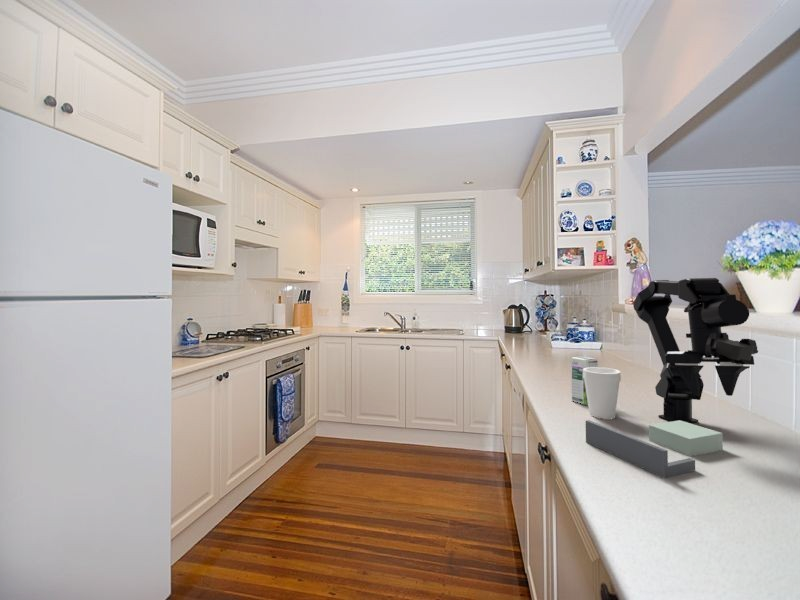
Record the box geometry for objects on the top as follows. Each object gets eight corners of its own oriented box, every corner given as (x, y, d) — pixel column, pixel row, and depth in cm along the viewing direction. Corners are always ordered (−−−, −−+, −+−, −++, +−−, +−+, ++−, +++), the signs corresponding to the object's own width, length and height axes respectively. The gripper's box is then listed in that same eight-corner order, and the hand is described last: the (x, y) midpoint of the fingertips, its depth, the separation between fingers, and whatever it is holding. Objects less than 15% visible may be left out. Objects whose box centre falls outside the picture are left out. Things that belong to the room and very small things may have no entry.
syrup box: (570, 401, 116) (570, 357, 116) (583, 398, 119) (582, 355, 119) (586, 405, 111) (585, 359, 111) (598, 403, 114) (598, 358, 114)
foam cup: (621, 423, 95) (620, 375, 95) (582, 417, 100) (581, 371, 100) (621, 413, 103) (620, 369, 103) (585, 408, 108) (584, 366, 108)
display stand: (613, 437, 86) (612, 416, 86) (695, 470, 69) (694, 444, 69) (585, 441, 83) (585, 420, 83) (664, 477, 66) (663, 451, 66)
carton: (680, 436, 87) (679, 420, 87) (722, 451, 78) (722, 433, 78) (649, 442, 84) (648, 425, 84) (690, 457, 75) (689, 438, 75)
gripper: (706, 325, 76) (714, 399, 74) (776, 327, 79) (787, 399, 77) (660, 328, 87) (666, 394, 85) (724, 331, 90) (732, 394, 88)
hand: (713, 395), depth 83 cm, fingers open, 9 cm apart
